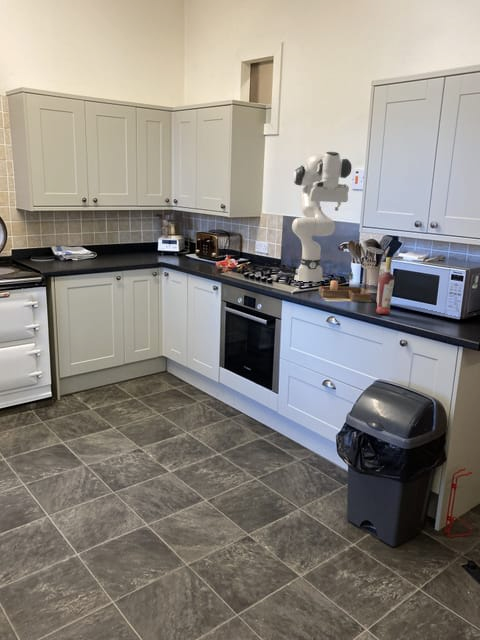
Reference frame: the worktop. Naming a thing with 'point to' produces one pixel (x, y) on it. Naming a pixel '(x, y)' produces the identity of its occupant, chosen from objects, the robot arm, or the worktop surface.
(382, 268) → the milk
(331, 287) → the peg
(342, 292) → the walls
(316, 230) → the robot arm
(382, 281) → the liquor
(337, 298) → the board
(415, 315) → the worktop surface
